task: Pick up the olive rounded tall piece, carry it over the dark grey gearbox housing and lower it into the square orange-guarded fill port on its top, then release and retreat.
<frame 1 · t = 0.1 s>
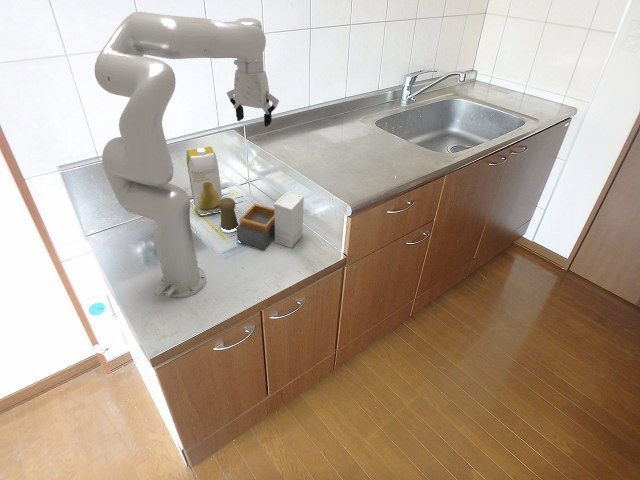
hand: (254, 122, 131), 31 cm above the counter, fingers open, 9 cm apart
olive rounded tall piece: (229, 228, 139), on the counter
gearbox: (261, 234, 136), on the counter
juice carton: (209, 210, 146), on the counter
skincare box: (289, 239, 135), on the counter
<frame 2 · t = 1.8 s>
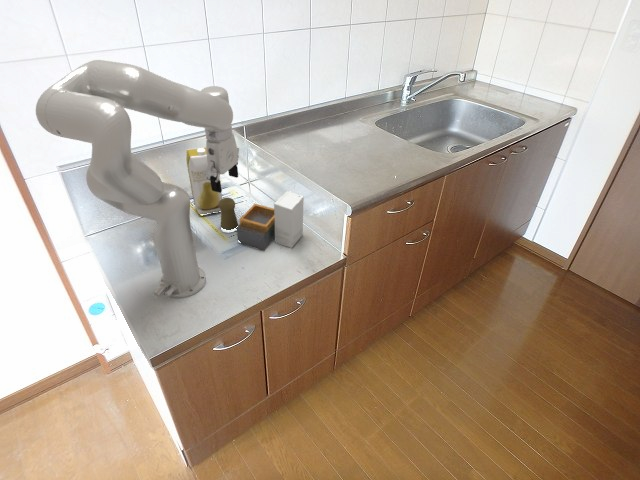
hand: (225, 183, 129), 17 cm above the counter, fingers open, 9 cm apart
nothing on the counter moved.
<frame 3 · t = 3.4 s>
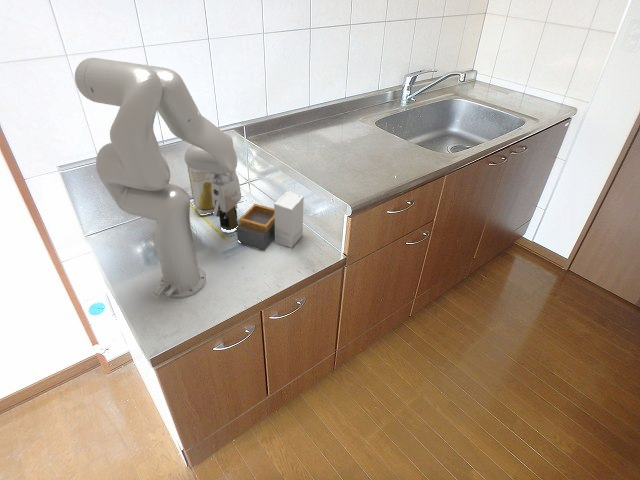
hand: (229, 222, 137), 2 cm above the counter, fingers closed on olive rounded tall piece, 4 cm apart
olive rounded tall piece: (229, 228, 139), on the counter, touching gripper
everything else where it was.
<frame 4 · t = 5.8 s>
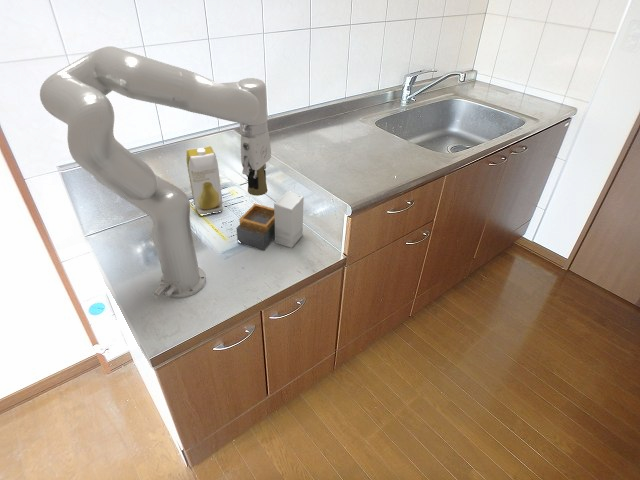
hand: (257, 183, 124), 19 cm above the counter, fingers closed on olive rounded tall piece, 4 cm apart
olive rounded tall piece: (257, 191, 126), point 17 cm above the counter, touching gripper
everything else where it was.
when the fingers open (10 cm above the counter, at t = 7.8 s): olive rounded tall piece drops 2 cm, resting on gearbox.
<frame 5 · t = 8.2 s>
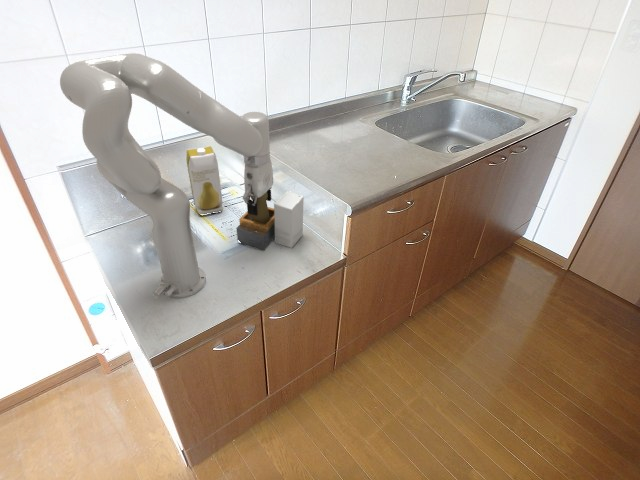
hand: (259, 206, 129), 11 cm above the counter, fingers open, 8 cm apart
olive rounded tall piece: (260, 220, 133), point 6 cm above the counter, touching gearbox
everything else where it was.
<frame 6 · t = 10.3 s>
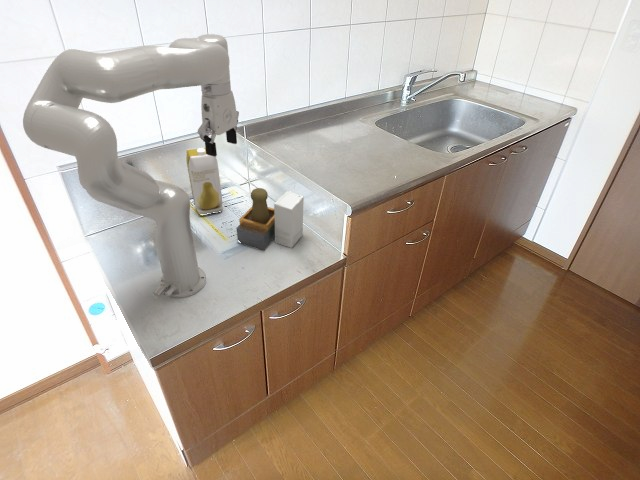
hand: (222, 148, 117), 30 cm above the counter, fingers open, 9 cm apart
nothing on the counter moved.
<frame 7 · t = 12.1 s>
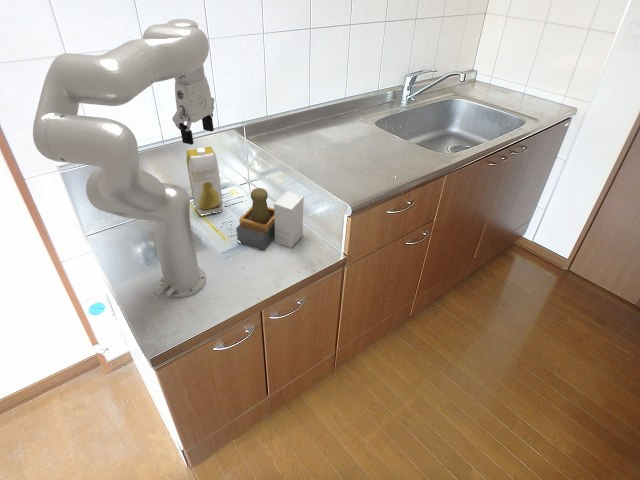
hand: (198, 136, 116), 33 cm above the counter, fingers open, 9 cm apart
nothing on the counter moved.
at the end: olive rounded tall piece 0.0 cm off-centre on the gearbox, point 5.8 cm above the gearbox's base; olive rounded tall piece tilted 0°; the gripper is holding nothing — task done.
